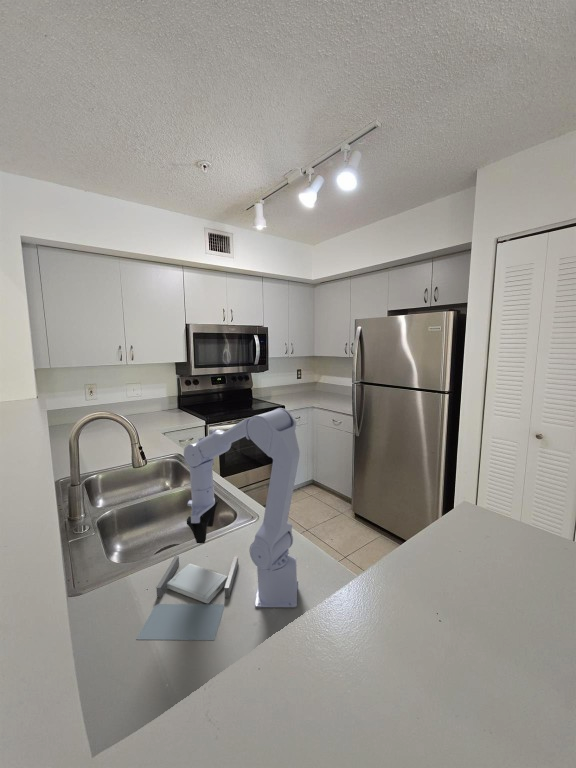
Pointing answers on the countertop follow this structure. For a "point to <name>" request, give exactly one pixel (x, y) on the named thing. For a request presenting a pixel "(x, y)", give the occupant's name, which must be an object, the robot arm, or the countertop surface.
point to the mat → (182, 622)
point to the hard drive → (197, 583)
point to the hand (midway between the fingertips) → (205, 533)
